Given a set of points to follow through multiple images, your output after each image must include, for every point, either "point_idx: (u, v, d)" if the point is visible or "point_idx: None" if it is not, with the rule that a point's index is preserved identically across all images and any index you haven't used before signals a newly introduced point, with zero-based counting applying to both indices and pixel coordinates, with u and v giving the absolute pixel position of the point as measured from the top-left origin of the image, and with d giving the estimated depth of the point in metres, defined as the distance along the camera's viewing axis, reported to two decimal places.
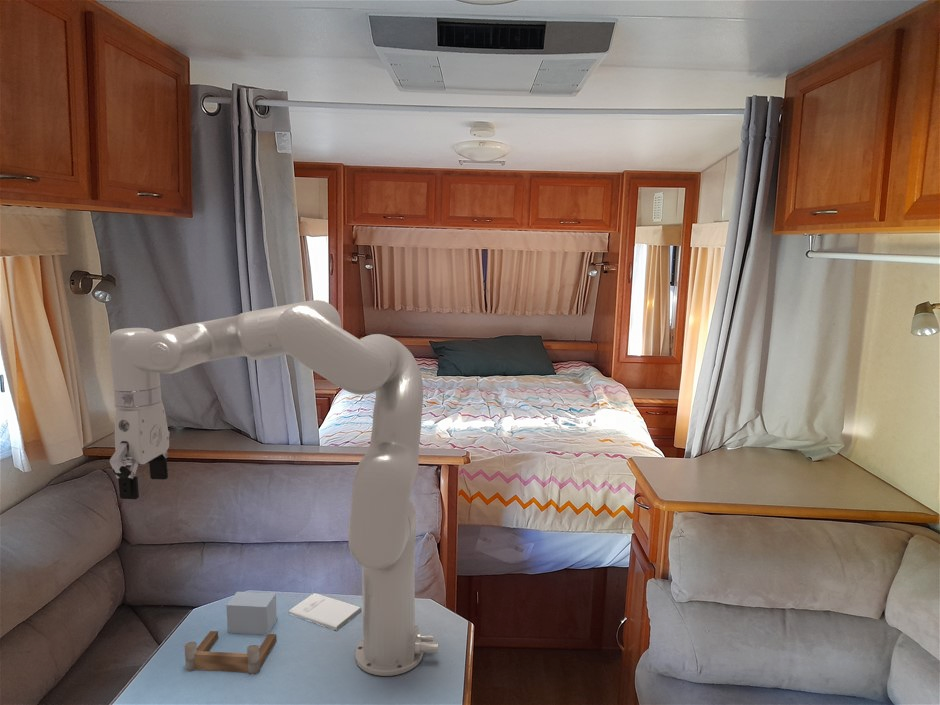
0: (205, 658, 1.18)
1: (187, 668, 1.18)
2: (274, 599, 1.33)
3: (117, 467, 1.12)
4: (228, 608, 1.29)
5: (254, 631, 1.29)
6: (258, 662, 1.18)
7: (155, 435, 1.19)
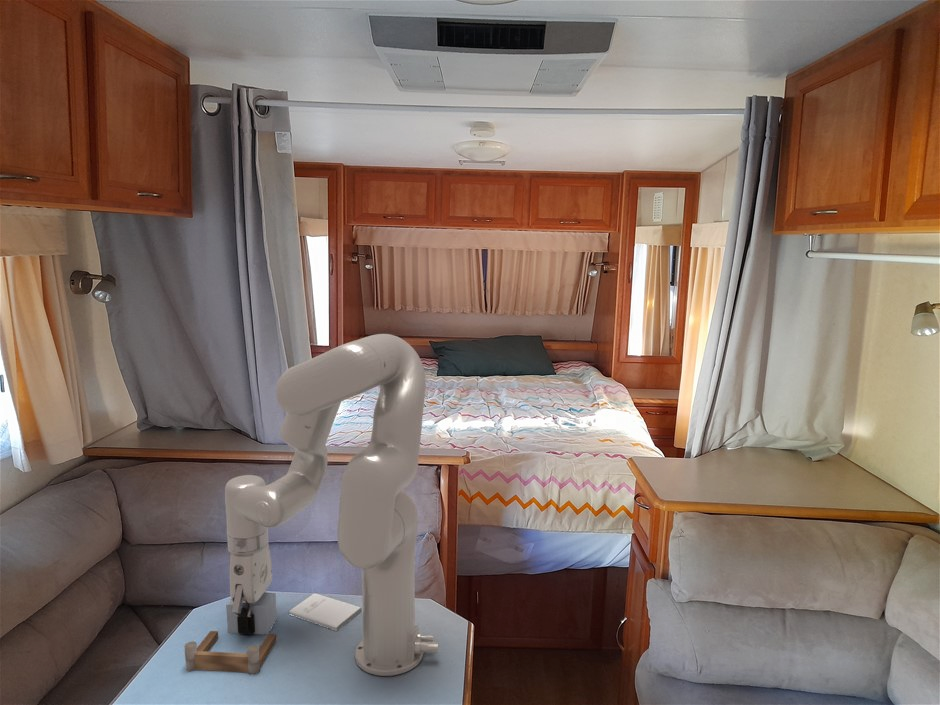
0: (205, 658, 1.18)
1: (187, 668, 1.18)
2: (274, 598, 1.33)
3: (239, 613, 1.25)
4: (228, 607, 1.29)
5: None
6: (258, 662, 1.18)
7: (263, 573, 1.30)
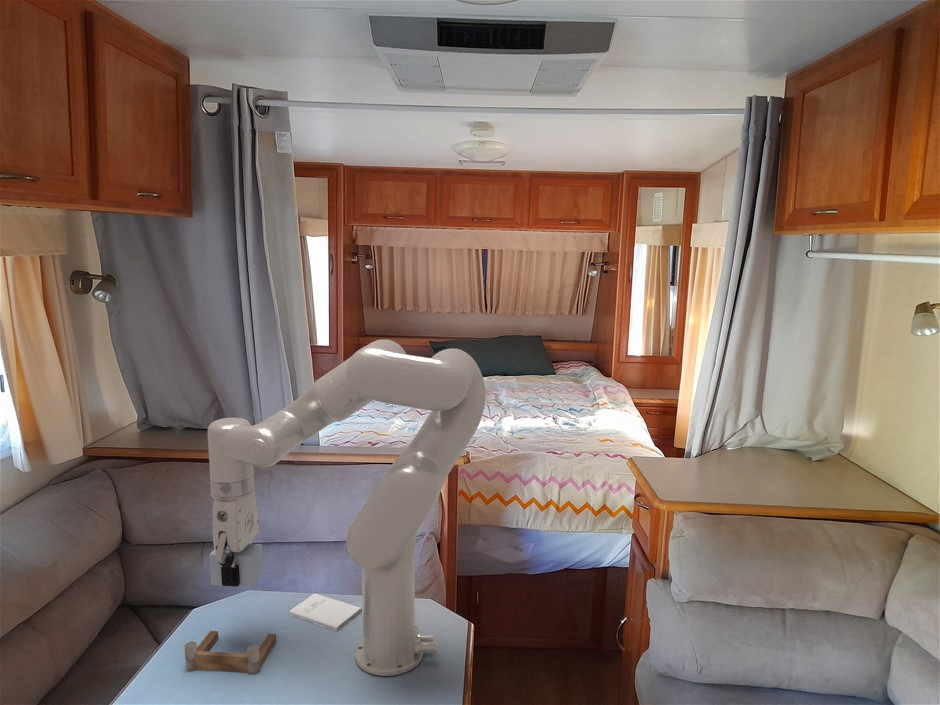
0: (205, 658, 1.18)
1: (187, 668, 1.18)
2: (260, 550, 1.25)
3: (222, 562, 1.17)
4: (211, 558, 1.21)
5: None
6: (258, 662, 1.18)
7: (249, 522, 1.22)
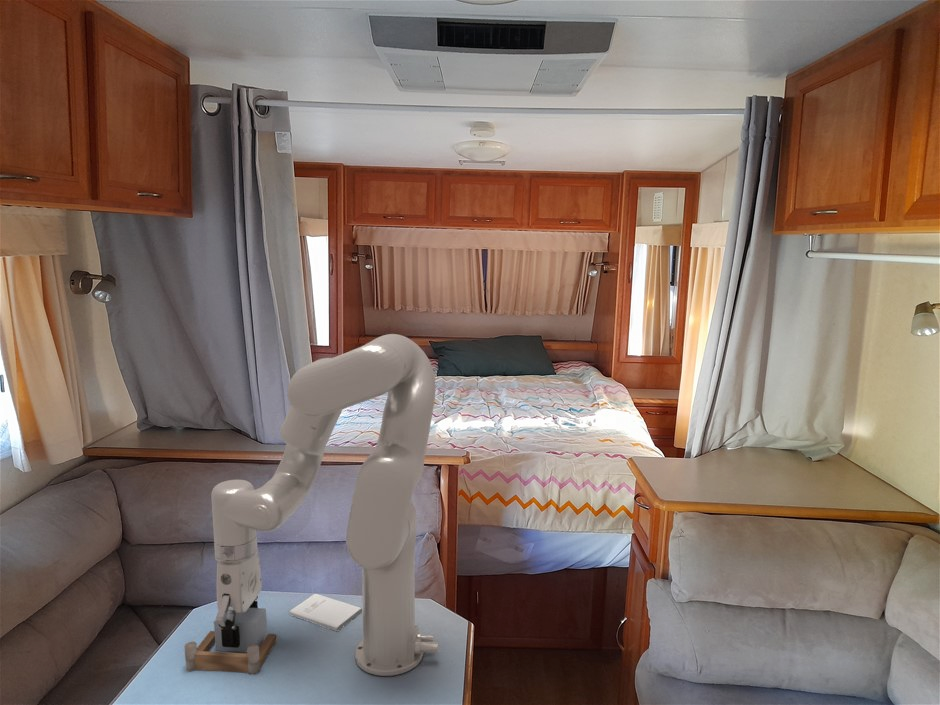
0: (205, 658, 1.18)
1: (187, 668, 1.18)
2: (264, 614, 1.27)
3: (223, 623, 1.18)
4: (216, 624, 1.24)
5: (243, 648, 1.24)
6: (258, 662, 1.18)
7: (252, 582, 1.24)
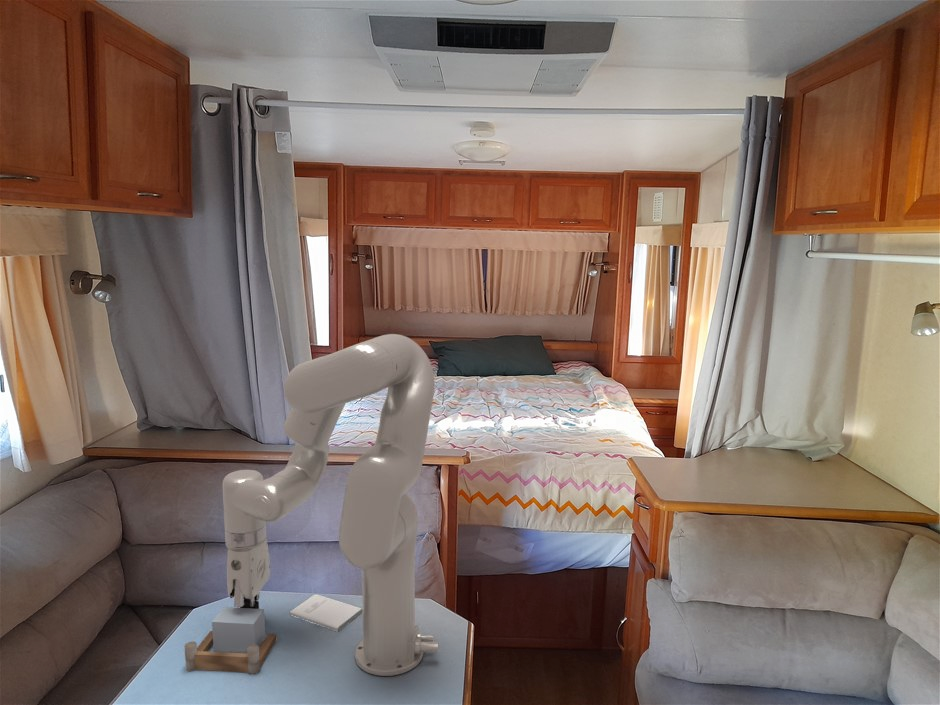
0: (205, 658, 1.18)
1: (187, 668, 1.18)
2: (262, 615, 1.27)
3: None
4: (214, 625, 1.23)
5: (241, 649, 1.24)
6: (258, 662, 1.18)
7: (261, 569, 1.29)
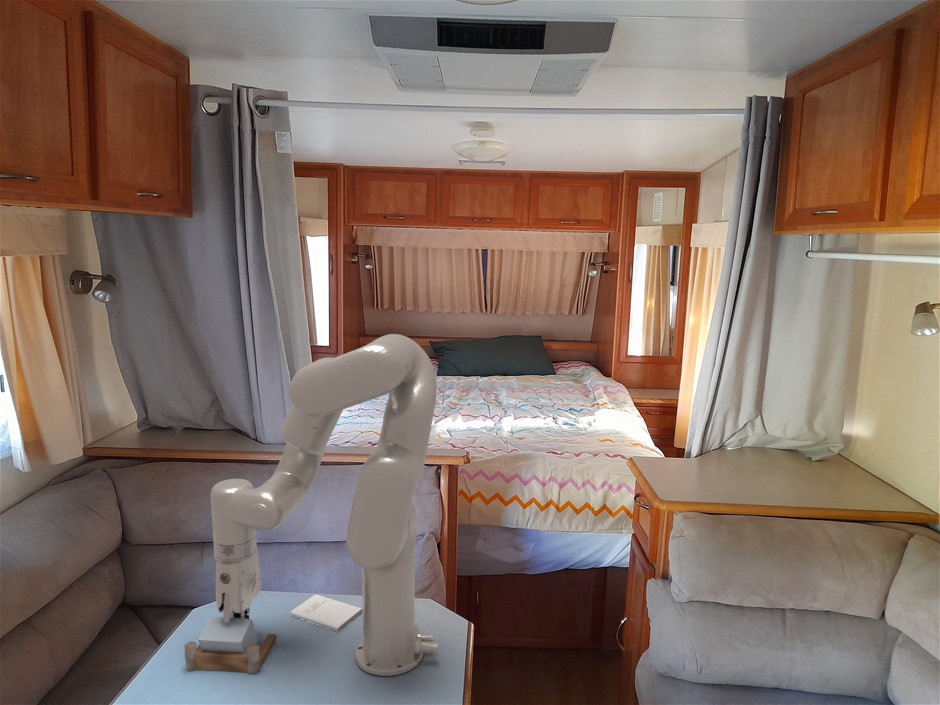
0: (205, 658, 1.18)
1: (187, 668, 1.18)
2: (251, 625, 1.22)
3: (231, 619, 1.21)
4: (200, 642, 1.18)
5: None
6: (258, 662, 1.18)
7: (251, 581, 1.24)
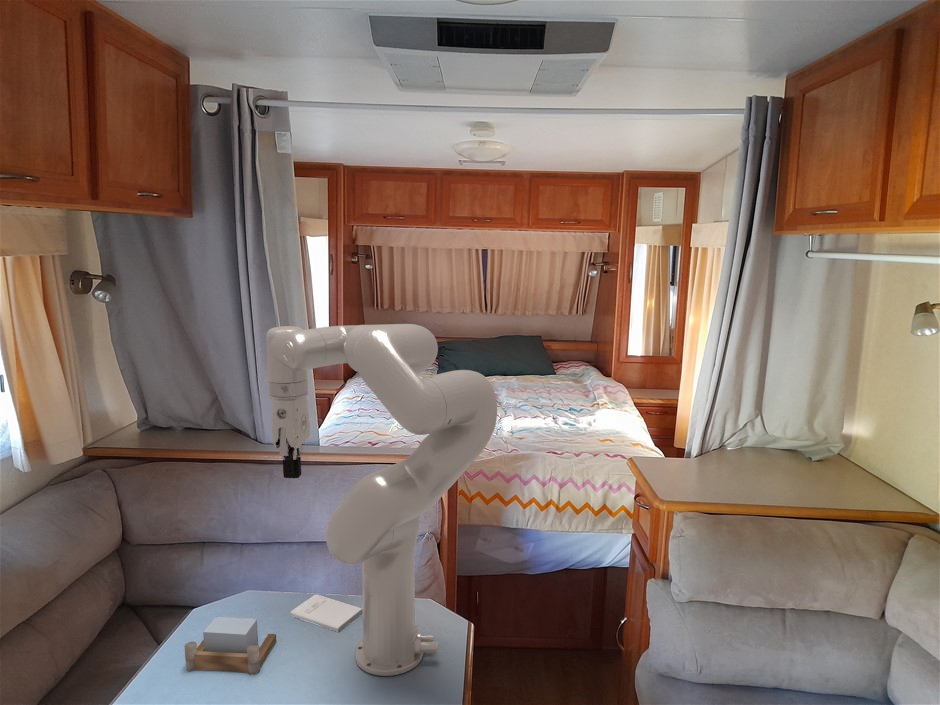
0: (205, 658, 1.18)
1: (187, 668, 1.18)
2: (255, 625, 1.24)
3: (286, 455, 1.30)
4: (205, 635, 1.20)
5: None
6: (258, 662, 1.18)
7: (303, 422, 1.33)
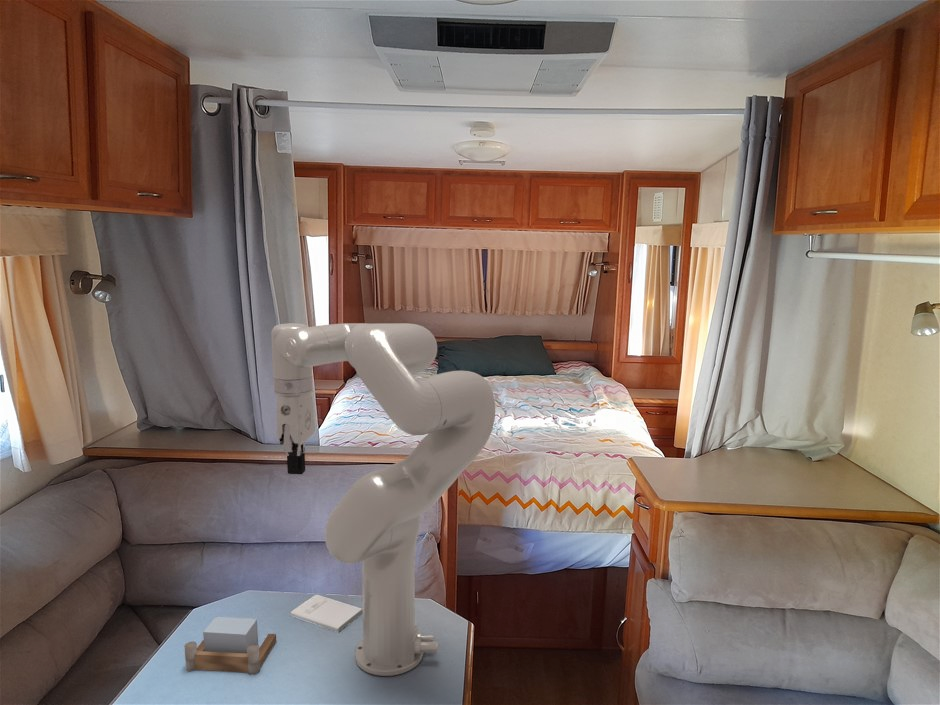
0: (205, 658, 1.18)
1: (187, 668, 1.18)
2: (255, 625, 1.24)
3: (290, 451, 1.31)
4: (205, 635, 1.20)
5: None
6: (258, 662, 1.18)
7: (307, 419, 1.33)
